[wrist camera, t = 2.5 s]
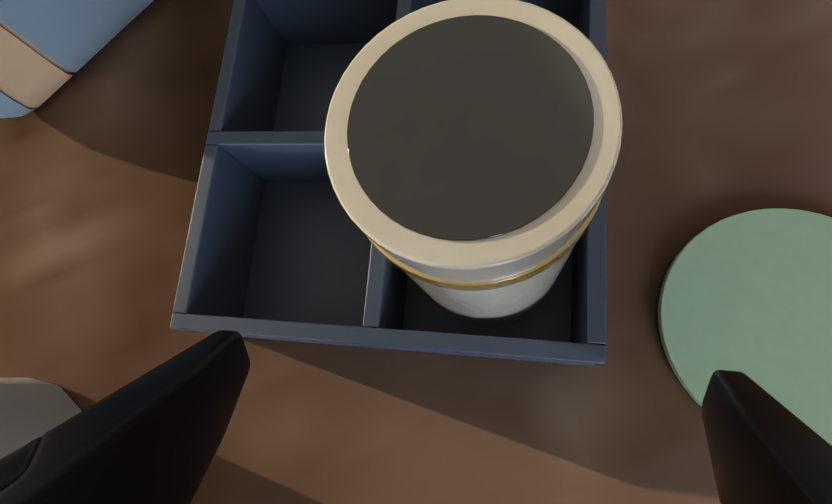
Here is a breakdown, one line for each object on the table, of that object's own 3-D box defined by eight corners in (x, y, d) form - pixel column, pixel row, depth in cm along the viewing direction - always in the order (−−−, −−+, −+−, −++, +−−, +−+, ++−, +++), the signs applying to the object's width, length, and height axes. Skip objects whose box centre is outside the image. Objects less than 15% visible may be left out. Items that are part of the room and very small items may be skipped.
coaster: (848, 508, 17) (856, 511, 16) (612, 350, 19) (614, 350, 19) (975, 295, 18) (985, 293, 17) (732, 170, 20) (736, 167, 20)
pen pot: (506, 356, 20) (506, 337, 8) (395, 277, 21) (263, 166, 10) (585, 242, 20) (691, 70, 9) (471, 173, 22) (431, -51, 10)
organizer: (584, 365, 19) (606, 364, 15) (232, 336, 22) (168, 328, 18) (587, 27, 23) (606, -51, 19) (281, 41, 26) (237, -24, 22)
